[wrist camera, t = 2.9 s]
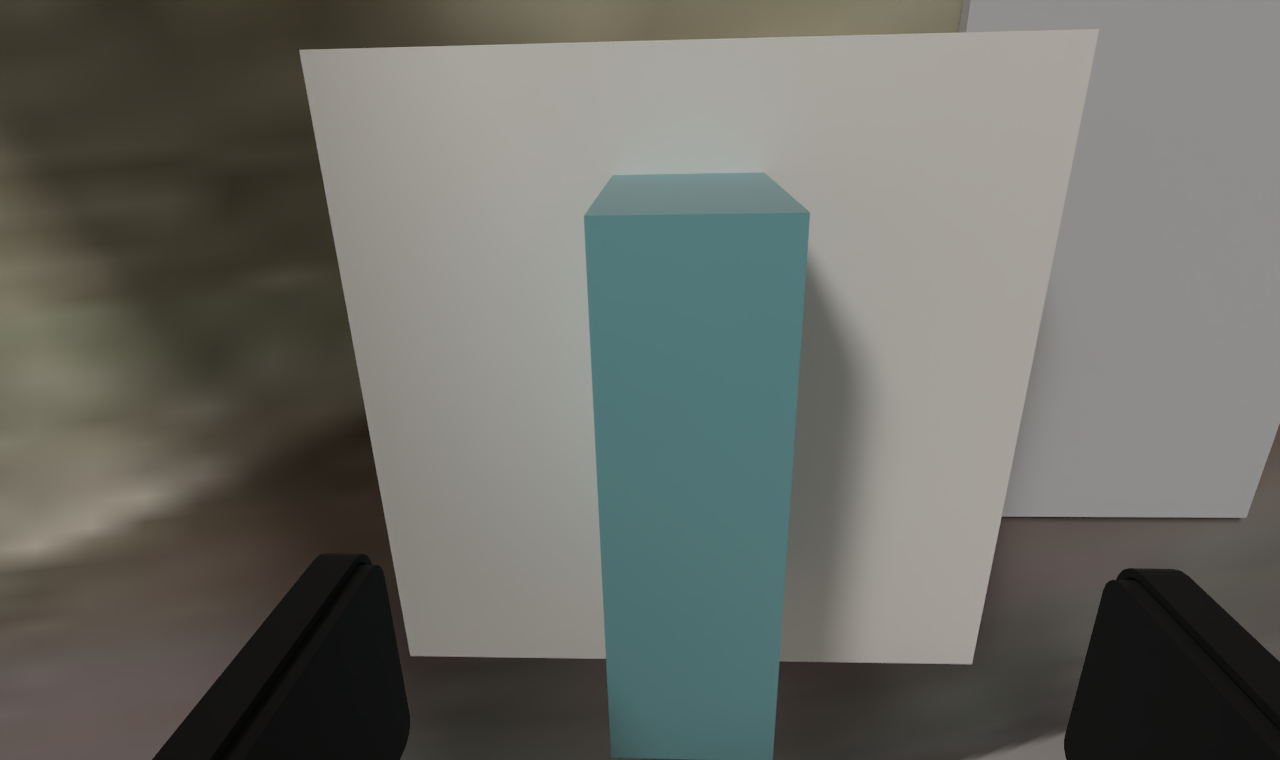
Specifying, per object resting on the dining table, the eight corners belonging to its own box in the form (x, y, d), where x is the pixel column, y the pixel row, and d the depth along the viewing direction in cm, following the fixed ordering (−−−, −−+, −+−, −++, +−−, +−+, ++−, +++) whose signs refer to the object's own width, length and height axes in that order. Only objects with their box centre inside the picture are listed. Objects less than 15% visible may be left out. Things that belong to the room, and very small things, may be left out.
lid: (348, 55, 16) (103, 27, 9) (1040, 37, 15) (1342, -7, 8) (435, 601, 21) (326, 836, 14) (941, 607, 20) (1072, 856, 14)
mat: (963, -5, 21) (971, -7, 21) (1415, -17, 21) (1436, -20, 20) (895, 507, 28) (899, 515, 28) (1234, 509, 28) (1246, 517, 27)
